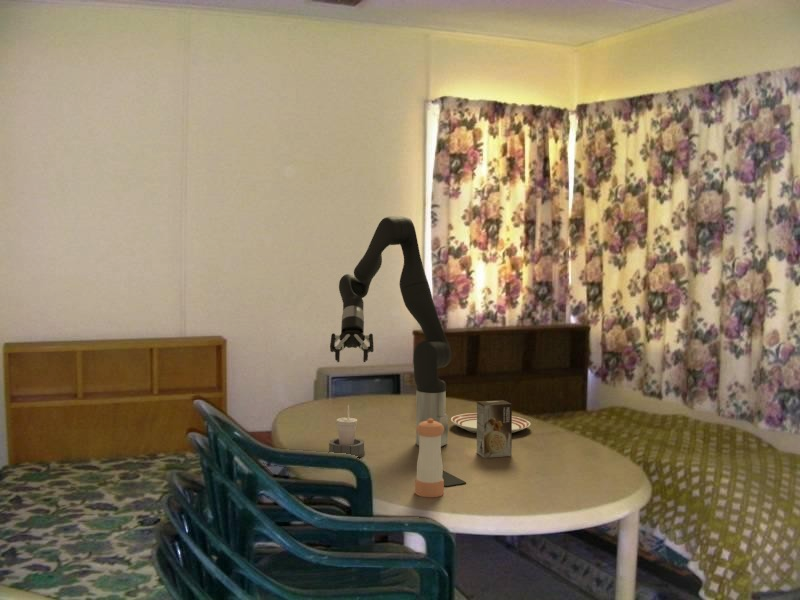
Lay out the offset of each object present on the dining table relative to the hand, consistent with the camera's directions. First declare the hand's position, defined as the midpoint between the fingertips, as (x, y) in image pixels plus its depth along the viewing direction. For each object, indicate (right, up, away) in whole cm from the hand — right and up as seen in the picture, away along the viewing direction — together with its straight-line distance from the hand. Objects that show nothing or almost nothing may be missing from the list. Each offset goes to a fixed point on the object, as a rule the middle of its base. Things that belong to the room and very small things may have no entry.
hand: (351, 360), depth 254 cm
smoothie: (0, -26, -19) cm, 32 cm away
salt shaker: (+23, -30, -55) cm, 66 cm away
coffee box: (+44, -27, -17) cm, 55 cm away
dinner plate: (+47, -25, +17) cm, 56 cm away
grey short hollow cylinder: (0, -27, -19) cm, 33 cm away
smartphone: (+27, -29, -42) cm, 58 cm away
